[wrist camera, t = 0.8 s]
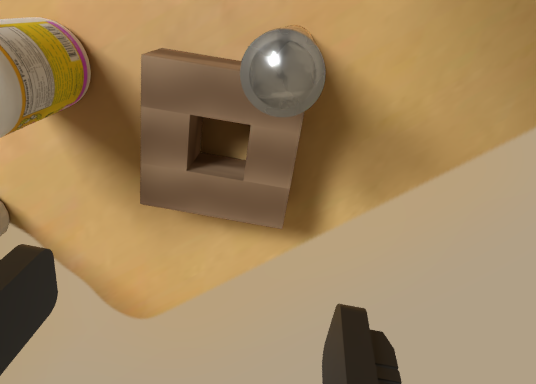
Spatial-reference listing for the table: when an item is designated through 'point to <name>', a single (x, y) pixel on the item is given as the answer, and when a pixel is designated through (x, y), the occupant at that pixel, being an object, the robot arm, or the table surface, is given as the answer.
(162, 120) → the socket block
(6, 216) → the pipe
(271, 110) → the pin
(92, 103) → the table surface
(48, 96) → the supplement bottle
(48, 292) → the robot arm
